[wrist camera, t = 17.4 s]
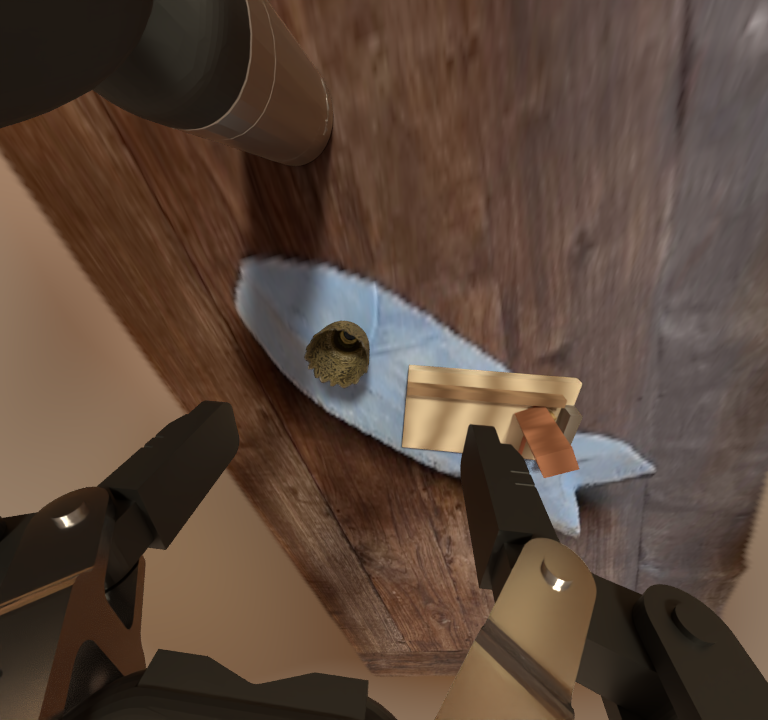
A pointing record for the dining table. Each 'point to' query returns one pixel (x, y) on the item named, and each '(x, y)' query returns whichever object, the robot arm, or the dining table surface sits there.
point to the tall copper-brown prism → (546, 441)
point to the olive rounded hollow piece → (339, 354)
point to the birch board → (482, 406)
